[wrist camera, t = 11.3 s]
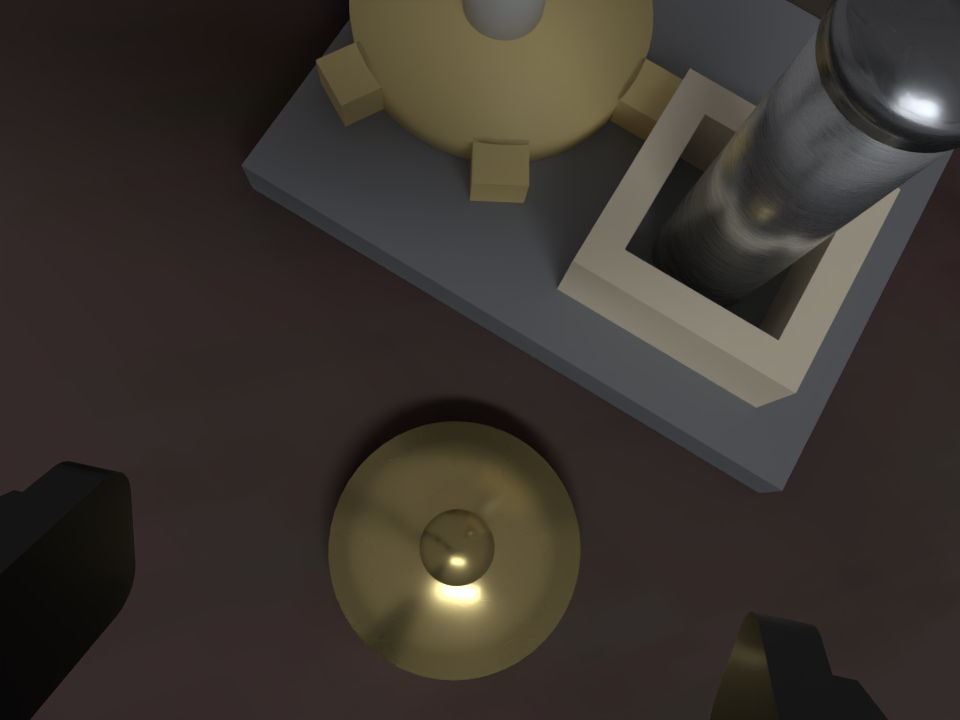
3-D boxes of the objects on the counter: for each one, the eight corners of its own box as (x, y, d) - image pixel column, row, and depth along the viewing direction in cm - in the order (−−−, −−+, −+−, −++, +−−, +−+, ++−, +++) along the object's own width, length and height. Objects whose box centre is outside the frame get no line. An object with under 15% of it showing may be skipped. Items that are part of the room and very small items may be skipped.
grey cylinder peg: (628, 275, 23) (804, 59, 13) (682, 184, 24) (891, -94, 13) (729, 335, 23) (994, 168, 12) (780, 241, 24) (1072, 8, 13)
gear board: (206, 160, 25) (145, 57, 19) (442, -153, 28) (447, -320, 22) (758, 493, 24) (857, 482, 18) (943, 131, 27) (1075, 30, 21)
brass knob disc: (301, 634, 23) (288, 645, 20) (374, 398, 24) (369, 386, 22) (538, 701, 23) (551, 719, 21) (597, 462, 24) (614, 456, 22)
